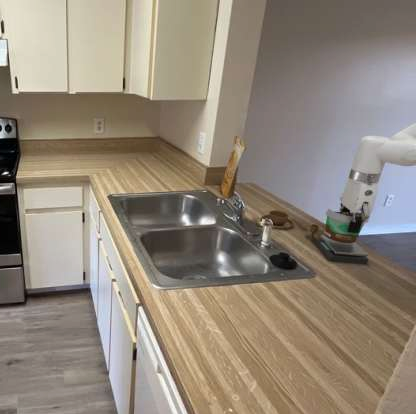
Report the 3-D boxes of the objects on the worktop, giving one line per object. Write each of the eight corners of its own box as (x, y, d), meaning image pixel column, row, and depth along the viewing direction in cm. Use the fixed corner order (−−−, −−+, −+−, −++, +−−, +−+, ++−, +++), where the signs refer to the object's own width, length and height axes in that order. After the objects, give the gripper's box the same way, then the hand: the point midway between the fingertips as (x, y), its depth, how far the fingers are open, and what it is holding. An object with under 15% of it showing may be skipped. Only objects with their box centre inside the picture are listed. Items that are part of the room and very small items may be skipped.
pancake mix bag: (233, 187, 176) (242, 135, 165) (237, 200, 159) (247, 143, 148) (219, 186, 178) (227, 134, 167) (222, 199, 161) (231, 142, 150)
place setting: (291, 218, 141) (294, 205, 139) (318, 241, 123) (322, 227, 120) (249, 218, 141) (252, 205, 139) (270, 241, 123) (274, 226, 121)
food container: (325, 242, 111) (334, 215, 107) (319, 234, 116) (326, 208, 112) (368, 247, 108) (378, 219, 104) (359, 238, 114) (368, 211, 110)
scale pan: (349, 239, 118) (349, 237, 117) (368, 256, 107) (368, 254, 107) (319, 236, 119) (320, 234, 119) (335, 253, 108) (335, 251, 108)
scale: (346, 246, 119) (348, 239, 118) (366, 266, 108) (368, 258, 107) (312, 243, 121) (314, 236, 120) (328, 262, 110) (331, 255, 108)
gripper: (395, 186, 95) (374, 241, 102) (362, 169, 110) (346, 217, 117) (366, 184, 96) (347, 239, 103) (337, 167, 112) (323, 216, 119)
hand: (347, 227), depth 110 cm, fingers closed on food container, 6 cm apart
